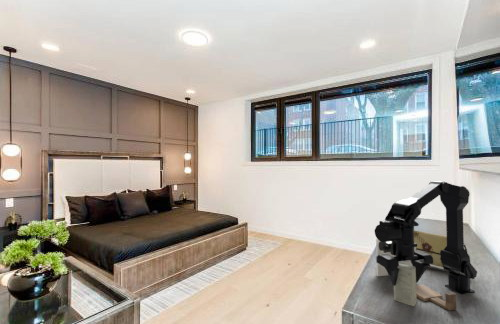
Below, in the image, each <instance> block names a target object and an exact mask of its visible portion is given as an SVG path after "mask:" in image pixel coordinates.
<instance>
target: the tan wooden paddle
mask: <svg viewBox="0 0 500 324" xmlns="http://www.w3.org/2000/svg"><path fill="white" fill-rule="evenodd" d="M416 293H417V299H420V300H421V301H423V302H428V301H430V302H432V303H434V304H436V305H438V306H440V307H441V308H443V309H444V310H447V311H449V312H450V311H455V310H456V311H457V293H455V292H453V291H451V292H445V295H443V294H441V293H439V292H437V291H435V290H433V289H431V288H429V287H428V286H425V285H424V284H419V285H418V284H416ZM443 296H444V297H445V300H443V298H444V297H443Z"/></svg>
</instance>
